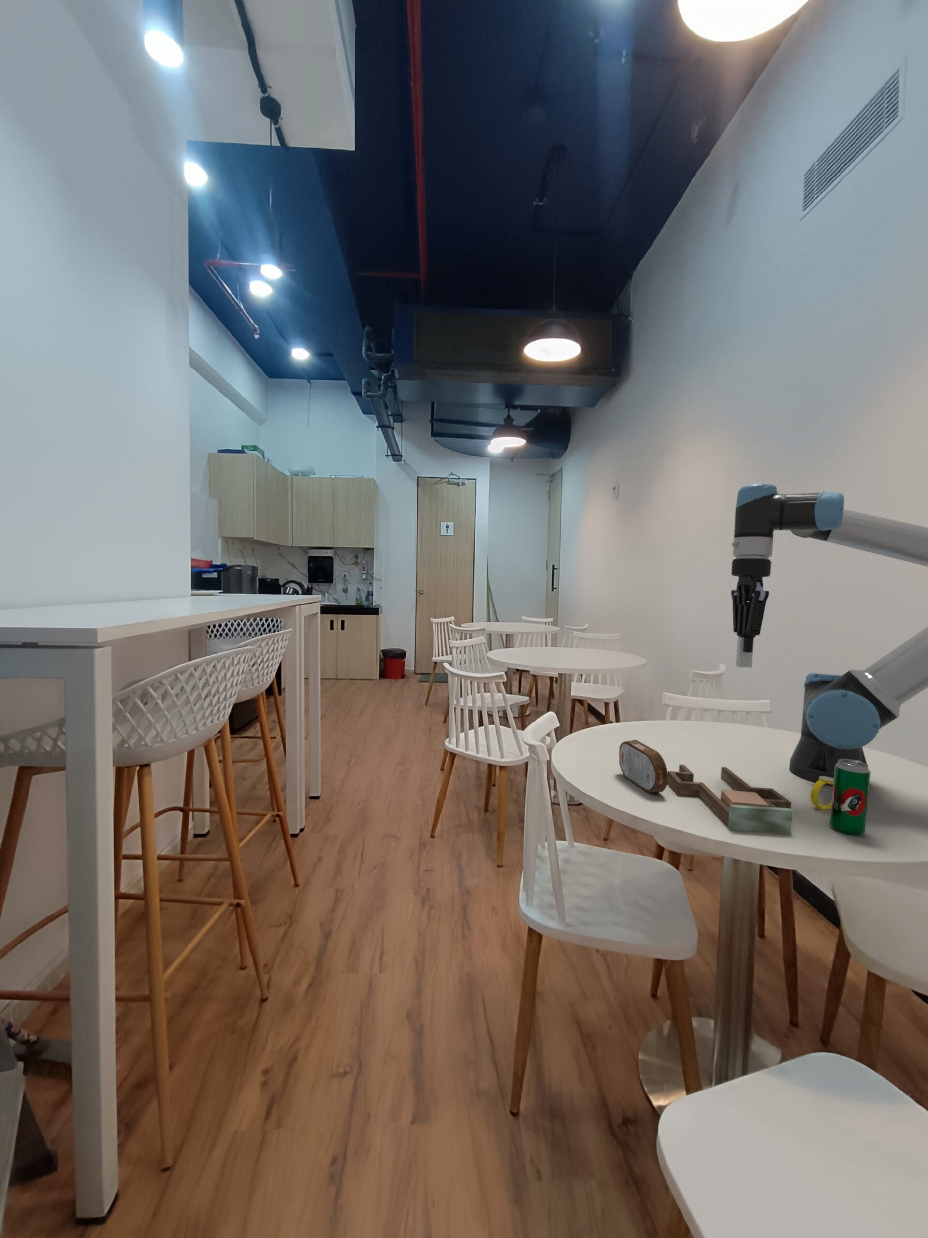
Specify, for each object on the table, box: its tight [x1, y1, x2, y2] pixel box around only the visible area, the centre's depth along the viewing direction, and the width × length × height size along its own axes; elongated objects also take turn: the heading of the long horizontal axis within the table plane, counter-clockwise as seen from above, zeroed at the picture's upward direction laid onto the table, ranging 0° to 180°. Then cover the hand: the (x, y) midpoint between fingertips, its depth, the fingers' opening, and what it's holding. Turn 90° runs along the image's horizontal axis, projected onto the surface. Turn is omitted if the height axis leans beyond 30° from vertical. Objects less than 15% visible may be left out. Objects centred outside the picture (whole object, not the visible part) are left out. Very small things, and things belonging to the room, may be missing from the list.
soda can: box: [829, 759, 871, 837], centre depth 96 cm, size 5×5×12 cm
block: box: [720, 789, 769, 807], centre depth 100 cm, size 6×6×4 cm
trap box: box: [667, 764, 794, 835], centre depth 108 cm, size 18×27×4 cm, turn 177°
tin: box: [618, 739, 668, 794], centre depth 115 cm, size 15×3×8 cm, turn 13°
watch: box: [809, 776, 834, 811], centre depth 106 cm, size 6×3×6 cm, turn 104°
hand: (743, 666), depth 121 cm, fingers closed
